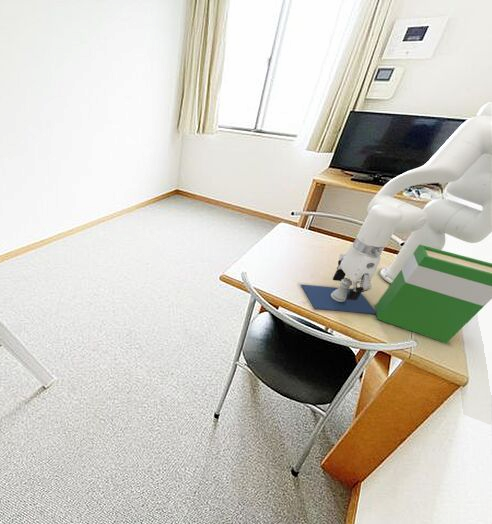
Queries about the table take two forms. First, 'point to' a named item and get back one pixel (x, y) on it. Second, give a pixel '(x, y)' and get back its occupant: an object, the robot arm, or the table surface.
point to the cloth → (323, 300)
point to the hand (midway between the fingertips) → (343, 289)
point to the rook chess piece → (341, 290)
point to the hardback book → (436, 293)
